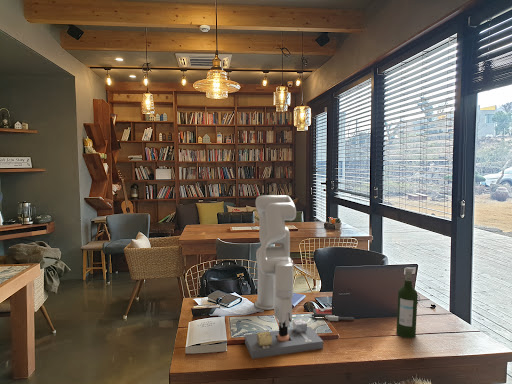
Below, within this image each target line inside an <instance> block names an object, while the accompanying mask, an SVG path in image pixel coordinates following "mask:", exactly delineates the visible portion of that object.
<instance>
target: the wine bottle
mask: <svg viewBox="0 0 512 384" xmlns="http://www.w3.org/2000/svg"><path fill="white" fill-rule="evenodd" d="M418 296H419V295H418V291H416V289H415V288H414V287H413V268H412V267H409V266H407V267H405V275H404V285H402V286H401V287H400V288H399V289H398V291H397V309H396V334H397V335H398V336H399V337H402V338H404V339H413V338H415V337H416V335H417V334H416V333H417V314H418Z"/></svg>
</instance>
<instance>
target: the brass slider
mask: <svg viewBox="0 0 512 384" xmlns="http://www.w3.org/2000/svg"><path fill="white" fill-rule="evenodd" d="M269 332H270V330H268V331H262V332H256V333H257V342H258V344H259V346H265V345H272V336H271V334H270V333H269Z"/></svg>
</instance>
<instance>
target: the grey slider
mask: <svg viewBox="0 0 512 384" xmlns="http://www.w3.org/2000/svg"><path fill="white" fill-rule="evenodd" d="M307 327H308V322H307V321H305V319H302V318H301V319H294V320H293V319H292V329H294V331H295V332H296V333H297V332H305V331H307Z"/></svg>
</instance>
